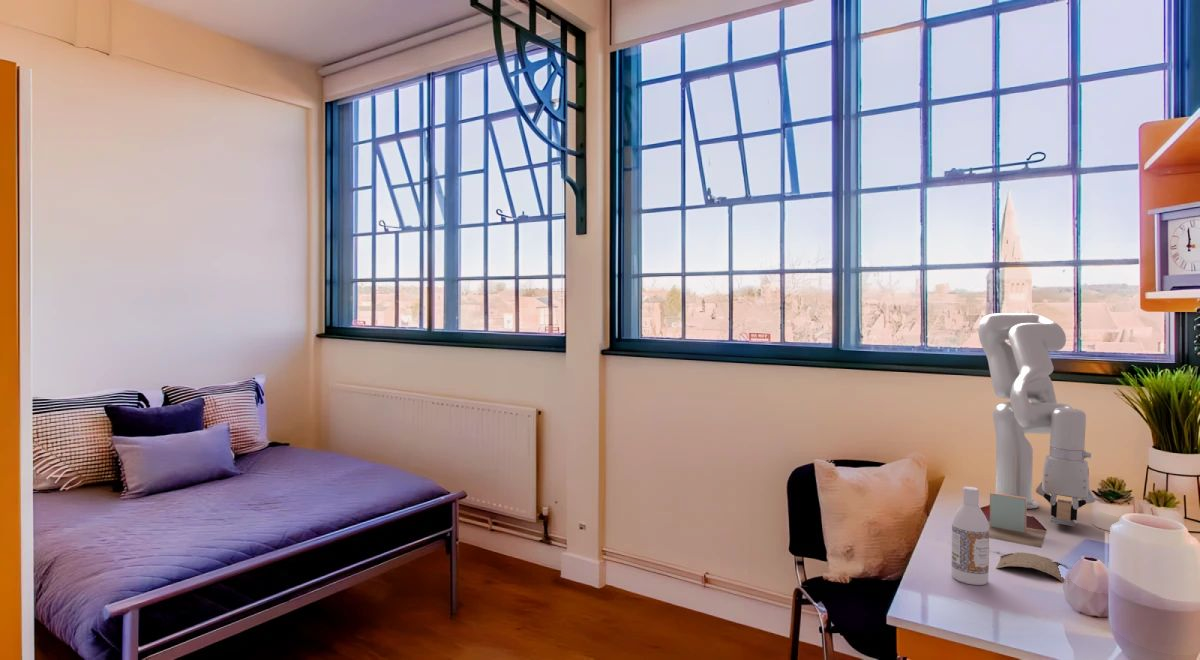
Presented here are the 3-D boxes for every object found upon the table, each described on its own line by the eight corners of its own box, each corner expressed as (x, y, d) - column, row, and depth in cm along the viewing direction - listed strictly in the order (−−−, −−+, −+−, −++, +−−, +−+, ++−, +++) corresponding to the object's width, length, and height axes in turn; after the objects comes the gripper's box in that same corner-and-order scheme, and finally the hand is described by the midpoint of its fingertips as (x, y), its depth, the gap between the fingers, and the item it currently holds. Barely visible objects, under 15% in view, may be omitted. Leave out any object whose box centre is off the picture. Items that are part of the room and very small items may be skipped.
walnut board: (983, 525, 173) (983, 520, 173) (1045, 536, 164) (1045, 530, 164) (974, 540, 160) (974, 534, 160) (1041, 553, 151) (1041, 547, 151)
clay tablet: (1070, 572, 142) (1070, 560, 142) (1071, 587, 134) (1071, 574, 134) (995, 557, 150) (995, 546, 150) (992, 571, 142) (992, 559, 142)
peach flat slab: (990, 525, 168) (990, 492, 168) (1026, 531, 163) (1026, 497, 163) (989, 526, 167) (989, 493, 167) (1025, 533, 162) (1025, 498, 162)
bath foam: (969, 587, 132) (970, 493, 131) (944, 574, 138) (945, 484, 138) (996, 584, 133) (997, 491, 133) (970, 571, 140) (971, 483, 140)
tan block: (1053, 515, 175) (1054, 497, 175) (1075, 519, 171) (1076, 501, 172) (1050, 521, 165) (1051, 502, 165) (1074, 526, 162) (1075, 507, 162)
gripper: (1105, 456, 166) (1101, 523, 167) (1031, 446, 177) (1028, 510, 178) (1105, 462, 161) (1101, 531, 162) (1028, 451, 171) (1026, 517, 172)
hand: (1063, 519), depth 170 cm, fingers closed on tan block, 3 cm apart
